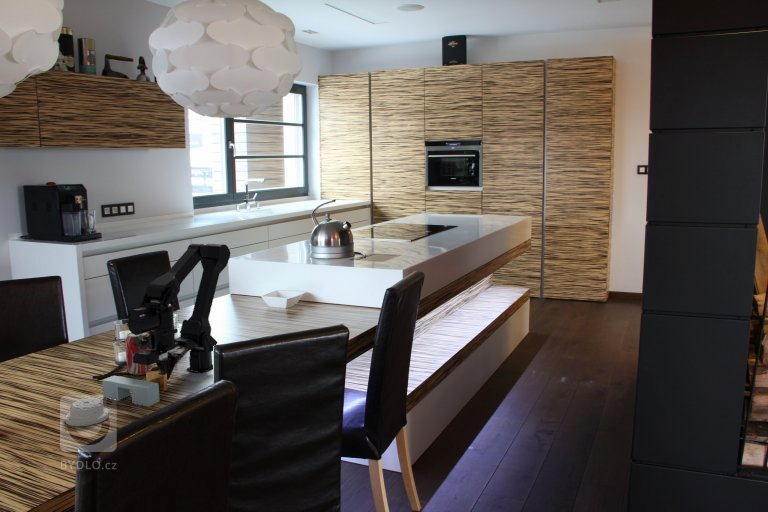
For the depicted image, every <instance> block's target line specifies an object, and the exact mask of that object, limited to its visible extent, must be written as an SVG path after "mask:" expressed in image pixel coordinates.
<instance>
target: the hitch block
mask: <svg viewBox="0 0 768 512" xmlns="http://www.w3.org/2000/svg"><path fill="white" fill-rule="evenodd" d="M101 382H102V384H101V385H102V394H103V395H102V397H106V398H105V399H107V398H111V399H110V400H112V399H116V400H115V401H117V400H119V401H121V400H120V399H122V398H124V399H126V398H128V396H129V397H130V396H131V400H132V402H131V403H132V404H133V403H134V404H133V405H137V404H138V406H142V405H143V406H144V407H147V408H148V407H151V406H153V405H155V404H157V403H160V390H159V385H158V383H153V382H148V381H147V380H141V379H135V378H130V377H125V376H119V375H118V376H117V375H111V376H110V377H109V376H108V377H107V378H104V379H101ZM130 390H131V391H130ZM125 397H126V398H125ZM122 400H123V399H122Z"/></svg>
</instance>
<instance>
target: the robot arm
mask: <svg viewBox="0 0 768 512" xmlns="http://www.w3.org/2000/svg"><path fill="white" fill-rule="evenodd" d="M186 249H187V250H186V251H184V253H183V254H182V255H181V256H180V257H179V258H178V260H177V261H176V262H175V263H174V264H173V266H171V268H169V270H168V271H167V272H166V273H165V274H163V275H160V276H158V277H156V278H155V279H154V280H152V281H151V282H150V283H149V284H148V285H147V287H146V291H145V293H144V295H143V298H142V300H141V302H140V304H139V308H135V309H132V314H131V315H130V316H129V317H128V320H127V321H126V322H127V328H128V329H129V331H130V332H129V333H133V334H135V335H139V334H142V333H145V332H147V333H148V336H147V337H143V336H142V335H139V336H136V337H134V339H133V343H134V347H135V348H140V350H142V351H139V352H136V353H135V354H134V355H133V363H137V364H143V365H151V364H152V365H153V364H155V365H157V367H158V369H159V371H160V372H159V373H165V374H167V381H169V380H170V377H172V373H173V370H174V369H175V366H176V364H177V362H178V360H179V358H180V357H181V356H182V353H179V352H178V349H181V348H184V350H186V351H189V357H188V358H189V359H188V360H189V367H187V368H186V371H189V372H195V373H206V372H208V371H210V370H212V369H214V368H213V365H214V364H213V354H212V352H214V351H213V346H214V345H216V344H217V345H218V341H217V340H216V339H215V338H214V337H213V336H212V326H211V323H210V319H209V318H210V314H211V312H212V311H211V310H212V306H213V302H214V299H215V295H216V294H215V293H216V290H217V289H216V288H217V286H218V281H219V277H220V274H221V273H222V272H223V271H224V270H225V268H227V266H228V263H229V260H230V258H231V249H229V246H228V245H227V244H223V243H206V244H203V243H191V244H189V245H188V246H187V248H186ZM199 263H201V268H202V269H203V270H202V273H201V274H202V275H201V278H200V281H199V282H200V283H199V286H198V290H197V294H196V297H195V302H194V306H193V310H192V315H191V316H190V317H189V318H188V319H183V321H182V324H181V329H180V331H178V328H175V320H174V319H175V318H174V309H178V308H179V305H178V303H175V300H176V298H177V296H178V295H179V293H180V291H181V285H182V283H183V282H184V280H185V279H186V278H187V277H188V276H189V275H190V273H192V271H193V270H194V269H195V267H196V266H197V265H198V264H199ZM178 332H179V334H180V335H179V337H175V334H177V333H178ZM148 347H149V349H151V351H150V350H143V348H148Z"/></svg>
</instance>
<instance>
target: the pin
mask: <svg viewBox="0 0 768 512" xmlns="http://www.w3.org/2000/svg"><path fill="white" fill-rule="evenodd" d="M145 375H146V376H145V377H146V381H148V382H153V383H158V385H159V391H168V388H169V387H168V380H167V374H165V373H161V372H158V371H152V370H150V371H148V372H146V374H145Z"/></svg>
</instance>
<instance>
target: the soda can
mask: <svg viewBox="0 0 768 512" xmlns="http://www.w3.org/2000/svg"><path fill="white" fill-rule="evenodd" d="M139 335H142V336H143V337H147V336H149V332H145V333H142V334H139ZM139 335H135V334H133V333H131V332H129V333H127V335H126V339H125V342H124V343H125V360H126V368H127V372H128V373H129V374H131V375H132V374H133V375H132V376H142V375H146V372H148V371H152V369H153V364H151V365H143V364H137V363H133V355H134V354H135V353H136V352H139V351H142V350H140V348H135V347H134V343H133V339H134V337H136V336H139ZM143 350H150V351H152V349H149V347H148V348H143Z"/></svg>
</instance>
